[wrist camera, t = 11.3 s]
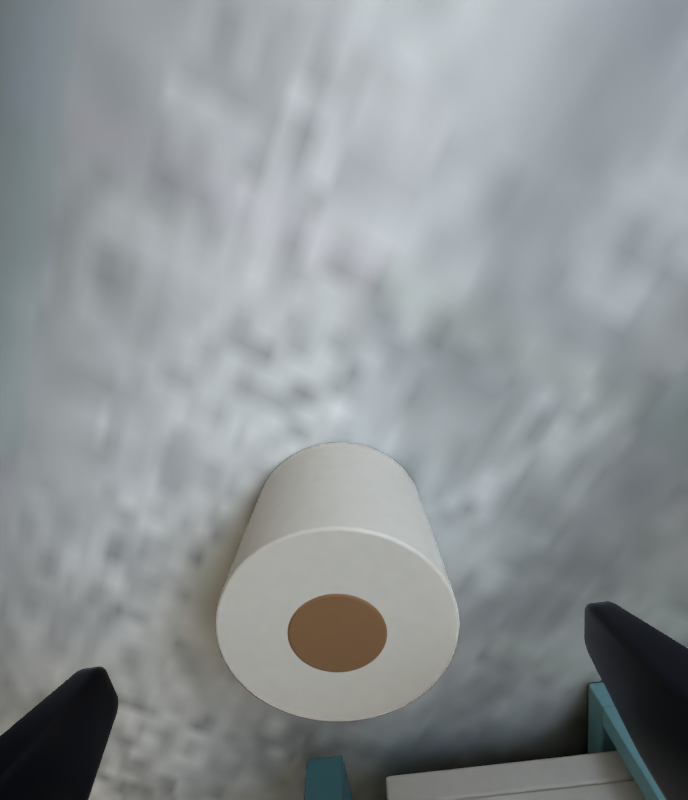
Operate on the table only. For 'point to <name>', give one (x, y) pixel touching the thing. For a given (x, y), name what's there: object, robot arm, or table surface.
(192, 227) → the table surface
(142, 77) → the table surface
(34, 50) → the table surface
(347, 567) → the label roll
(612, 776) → the drawer
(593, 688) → the teal cabinet
